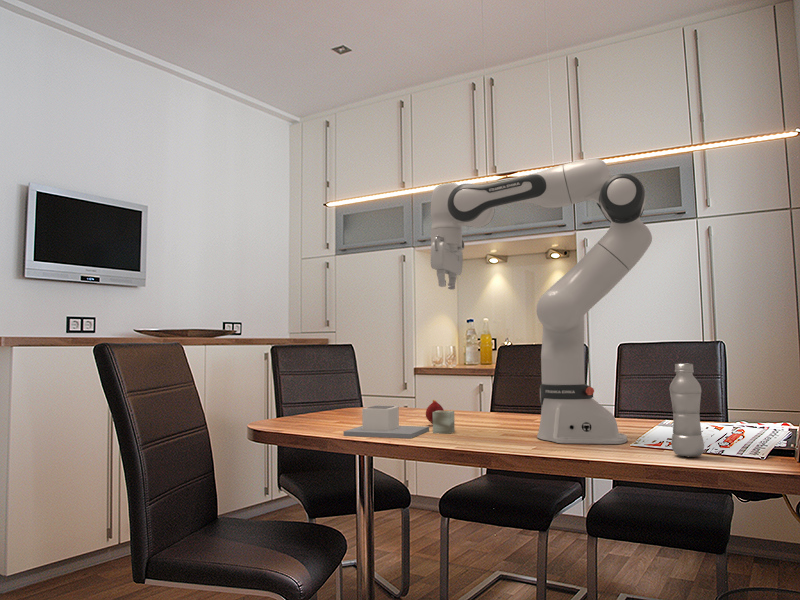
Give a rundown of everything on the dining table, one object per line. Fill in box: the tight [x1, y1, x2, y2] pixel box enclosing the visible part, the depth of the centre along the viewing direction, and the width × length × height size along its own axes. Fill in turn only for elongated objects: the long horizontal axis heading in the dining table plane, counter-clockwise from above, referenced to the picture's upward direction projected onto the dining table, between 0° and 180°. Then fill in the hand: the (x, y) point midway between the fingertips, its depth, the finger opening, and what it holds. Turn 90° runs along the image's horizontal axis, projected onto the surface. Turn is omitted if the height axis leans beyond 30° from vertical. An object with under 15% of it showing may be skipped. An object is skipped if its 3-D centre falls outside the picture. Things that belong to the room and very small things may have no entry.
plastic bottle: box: [669, 363, 705, 458], centre depth 135 cm, size 6×7×20 cm
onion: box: [425, 399, 445, 425], centre depth 193 cm, size 6×6×8 cm
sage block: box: [432, 410, 456, 435], centre depth 178 cm, size 5×5×6 cm
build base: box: [343, 405, 430, 439], centre depth 177 cm, size 20×16×7 cm
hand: (447, 288), depth 177 cm, fingers open, 8 cm apart
